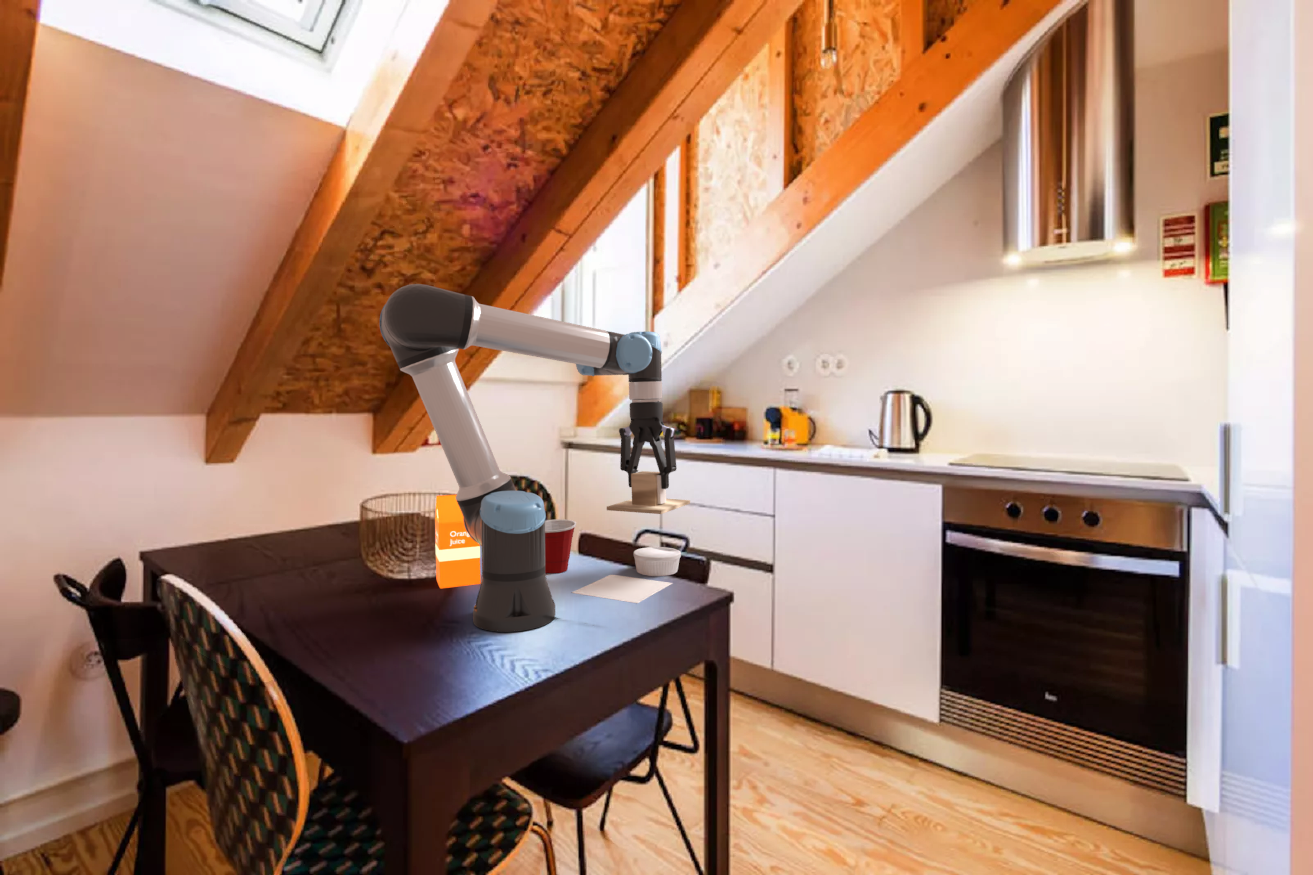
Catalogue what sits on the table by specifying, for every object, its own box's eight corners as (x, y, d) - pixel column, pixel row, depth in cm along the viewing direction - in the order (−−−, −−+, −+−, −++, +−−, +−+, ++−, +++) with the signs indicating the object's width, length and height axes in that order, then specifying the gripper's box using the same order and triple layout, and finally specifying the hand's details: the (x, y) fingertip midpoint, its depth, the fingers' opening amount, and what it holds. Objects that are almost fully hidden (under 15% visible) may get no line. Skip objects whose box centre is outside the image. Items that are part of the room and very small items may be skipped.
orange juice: (480, 583, 146) (479, 495, 145) (439, 588, 142) (437, 498, 141) (475, 575, 153) (473, 491, 152) (435, 579, 149) (433, 493, 148)
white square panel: (637, 606, 130) (637, 603, 130) (571, 595, 137) (571, 592, 137) (672, 585, 144) (672, 583, 144) (610, 577, 151) (610, 574, 151)
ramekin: (685, 569, 159) (685, 547, 158) (675, 581, 148) (675, 558, 148) (640, 566, 161) (640, 545, 161) (628, 578, 151) (627, 555, 150)
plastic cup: (521, 575, 153) (520, 524, 152) (550, 565, 162) (549, 517, 162) (558, 581, 148) (557, 529, 147) (586, 570, 157) (585, 521, 156)
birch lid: (661, 514, 139) (660, 478, 139) (606, 510, 146) (605, 475, 145) (690, 503, 151) (689, 470, 151) (638, 500, 158) (637, 468, 158)
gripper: (691, 399, 146) (693, 502, 147) (619, 401, 155) (622, 497, 156) (675, 400, 139) (678, 507, 141) (601, 402, 148) (605, 502, 150)
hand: (649, 502), depth 149 cm, fingers closed on birch lid, 6 cm apart
